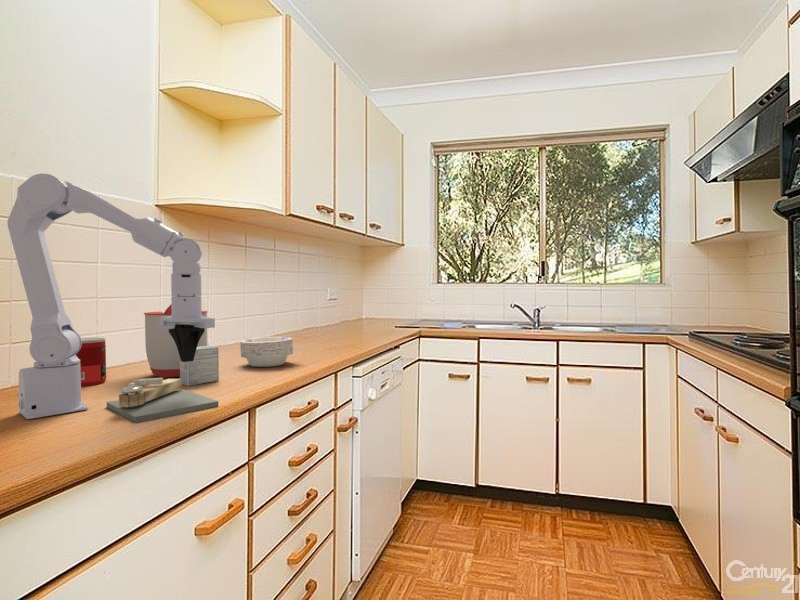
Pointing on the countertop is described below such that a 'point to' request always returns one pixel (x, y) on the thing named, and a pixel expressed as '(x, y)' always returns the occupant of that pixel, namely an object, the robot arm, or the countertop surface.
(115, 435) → the countertop surface
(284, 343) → the grey stone bowl
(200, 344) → the citrus juicer
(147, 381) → the keeper
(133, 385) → the pintle
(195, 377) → the medicine box
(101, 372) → the canned food
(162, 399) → the base plate
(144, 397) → the link
